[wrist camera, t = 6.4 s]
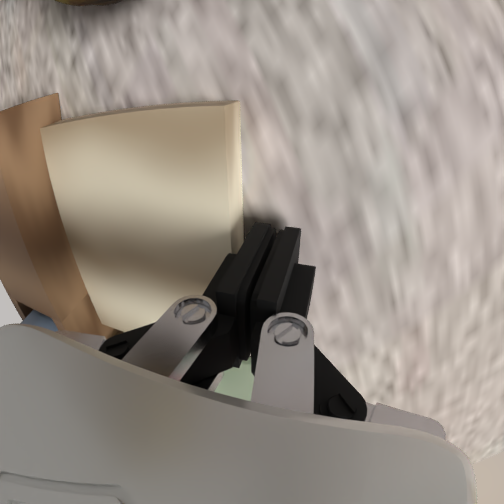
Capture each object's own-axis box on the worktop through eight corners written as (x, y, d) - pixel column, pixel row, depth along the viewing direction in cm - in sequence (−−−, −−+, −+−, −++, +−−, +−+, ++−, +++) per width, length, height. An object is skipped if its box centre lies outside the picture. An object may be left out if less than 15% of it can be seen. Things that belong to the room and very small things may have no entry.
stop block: (4, 113, 12) (-48, 136, 9) (58, 92, 11) (-10, 115, 7) (69, 313, 21) (40, 347, 18) (124, 335, 20) (95, 377, 16)
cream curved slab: (69, 117, 12) (39, 128, 10) (244, 99, 10) (224, 105, 8) (118, 303, 19) (101, 323, 17) (250, 336, 16) (239, 364, 15)
